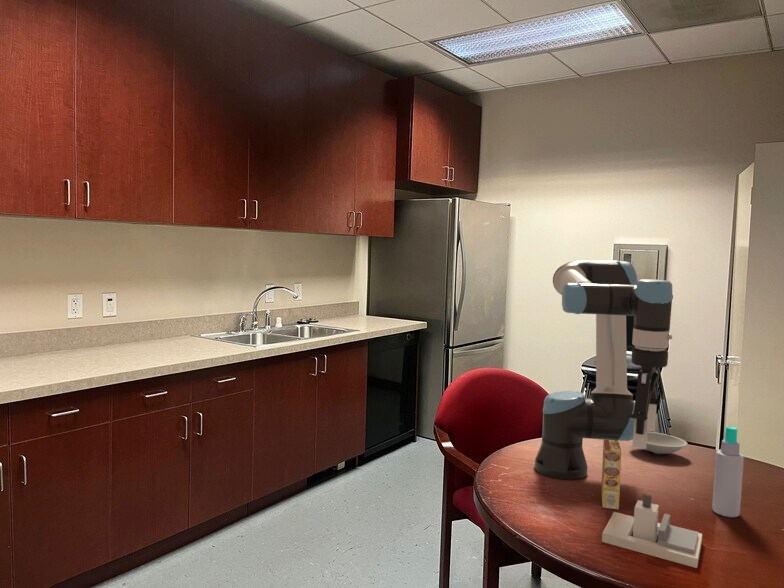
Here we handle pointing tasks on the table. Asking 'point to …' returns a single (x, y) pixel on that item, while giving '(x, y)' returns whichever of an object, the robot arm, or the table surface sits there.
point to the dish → (663, 443)
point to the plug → (646, 519)
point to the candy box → (611, 474)
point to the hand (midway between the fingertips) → (644, 438)
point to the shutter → (676, 536)
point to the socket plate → (645, 541)
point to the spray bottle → (728, 476)
